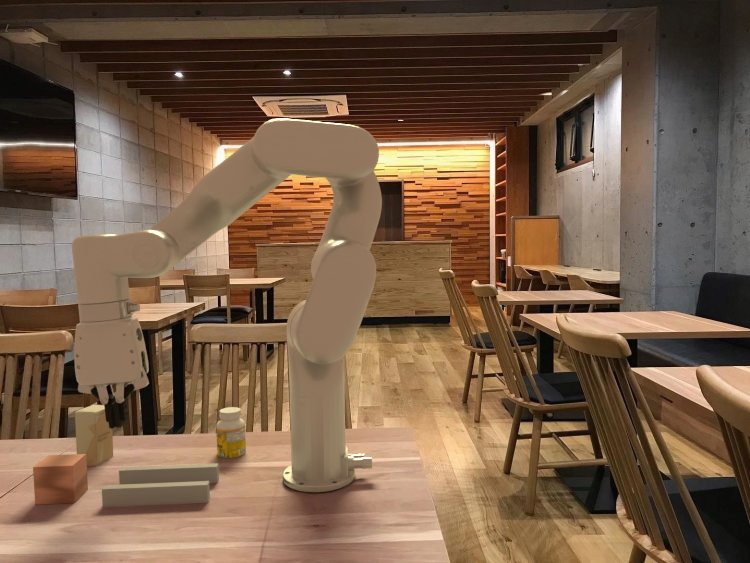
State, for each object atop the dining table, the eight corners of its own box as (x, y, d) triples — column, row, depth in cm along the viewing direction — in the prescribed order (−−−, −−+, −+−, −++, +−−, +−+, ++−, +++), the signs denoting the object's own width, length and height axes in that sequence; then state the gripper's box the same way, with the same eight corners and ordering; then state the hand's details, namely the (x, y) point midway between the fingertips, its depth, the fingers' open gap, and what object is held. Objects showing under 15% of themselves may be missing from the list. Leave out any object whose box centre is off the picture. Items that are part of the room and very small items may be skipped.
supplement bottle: (248, 461, 112) (246, 411, 112) (219, 466, 110) (217, 415, 109) (243, 452, 117) (241, 404, 117) (215, 456, 115) (213, 408, 114)
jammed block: (88, 489, 98) (86, 453, 97) (74, 502, 93) (72, 465, 92) (50, 490, 97) (48, 455, 97) (35, 504, 92) (32, 467, 92)
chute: (220, 482, 103) (220, 459, 102) (206, 514, 91) (205, 489, 91) (78, 488, 101) (77, 465, 101) (44, 521, 89) (42, 496, 89)
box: (96, 472, 108) (93, 412, 107) (76, 470, 109) (73, 411, 108) (115, 461, 113) (112, 404, 112) (95, 460, 114) (92, 403, 113)
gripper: (160, 306, 98) (171, 414, 99) (67, 313, 97) (80, 422, 98) (146, 312, 90) (158, 429, 92) (45, 319, 89) (59, 437, 91)
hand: (118, 425), depth 95 cm, fingers closed
